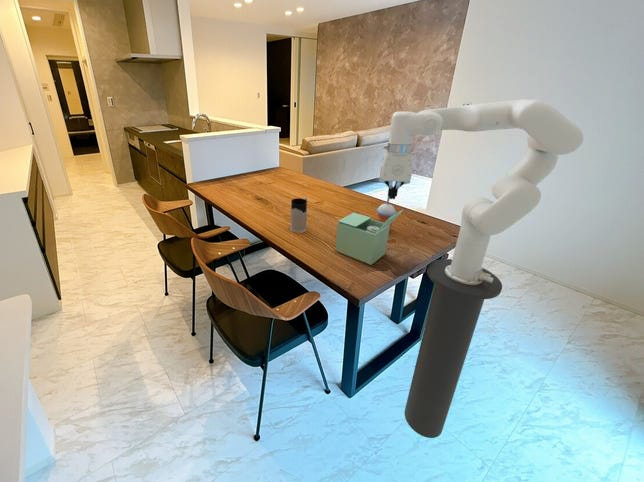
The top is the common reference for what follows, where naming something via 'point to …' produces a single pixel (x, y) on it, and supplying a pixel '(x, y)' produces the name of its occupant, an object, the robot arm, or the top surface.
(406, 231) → the top surface
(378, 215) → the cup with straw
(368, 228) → the beverage can
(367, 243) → the carton
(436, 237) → the top surface
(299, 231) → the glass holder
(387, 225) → the flap
